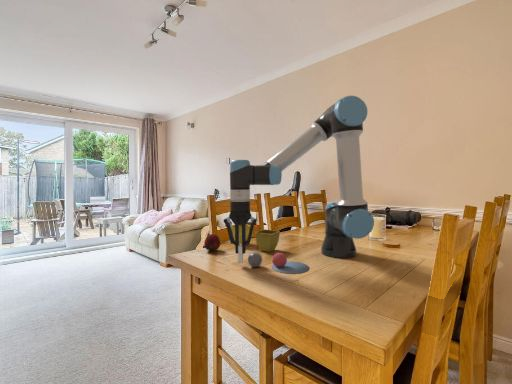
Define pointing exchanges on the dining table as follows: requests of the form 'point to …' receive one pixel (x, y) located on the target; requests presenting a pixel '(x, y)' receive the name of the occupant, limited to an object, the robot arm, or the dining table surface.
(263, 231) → the flower pot
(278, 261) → the object ball
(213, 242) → the dark red bumpy ball
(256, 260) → the blue-grey ball
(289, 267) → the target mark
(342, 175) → the robot arm
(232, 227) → the plant pot
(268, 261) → the dining table surface
